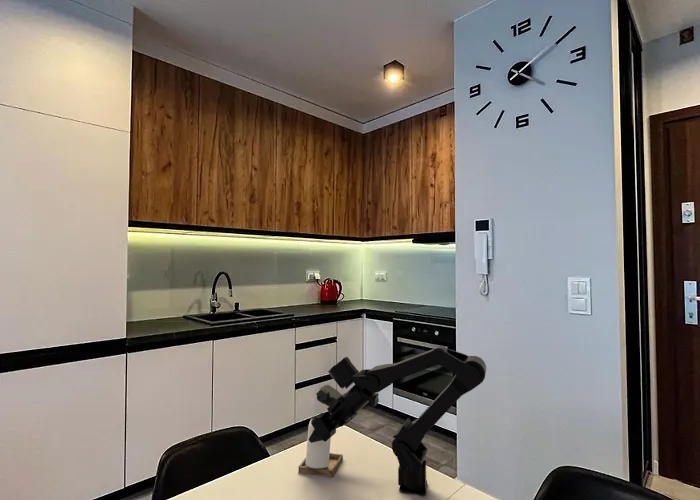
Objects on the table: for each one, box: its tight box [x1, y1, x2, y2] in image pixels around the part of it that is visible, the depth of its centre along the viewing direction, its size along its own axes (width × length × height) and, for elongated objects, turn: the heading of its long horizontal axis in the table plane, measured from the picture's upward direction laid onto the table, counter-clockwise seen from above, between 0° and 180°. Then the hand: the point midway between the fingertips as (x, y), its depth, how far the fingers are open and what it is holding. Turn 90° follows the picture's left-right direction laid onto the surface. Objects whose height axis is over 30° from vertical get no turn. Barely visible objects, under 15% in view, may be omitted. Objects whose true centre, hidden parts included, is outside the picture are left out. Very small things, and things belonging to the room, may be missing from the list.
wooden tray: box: [298, 452, 344, 478], centre depth 107 cm, size 10×10×2 cm
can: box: [305, 417, 332, 469], centre depth 107 cm, size 6×6×12 cm
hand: (317, 435), depth 108 cm, fingers open, 8 cm apart
